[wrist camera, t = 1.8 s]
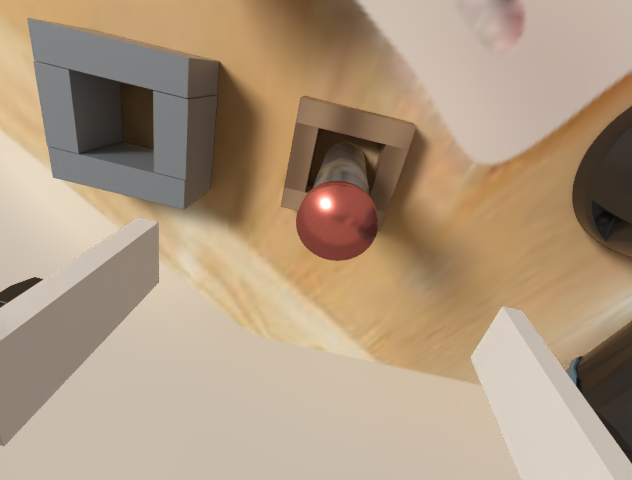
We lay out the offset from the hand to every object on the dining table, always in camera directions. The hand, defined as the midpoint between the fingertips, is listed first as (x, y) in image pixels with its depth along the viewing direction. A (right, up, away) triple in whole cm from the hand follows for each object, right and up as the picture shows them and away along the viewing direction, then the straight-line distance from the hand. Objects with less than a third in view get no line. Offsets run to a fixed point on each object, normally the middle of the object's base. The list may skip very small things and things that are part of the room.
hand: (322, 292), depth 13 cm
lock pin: (+2, +10, +19) cm, 22 cm away
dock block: (-16, +14, +19) cm, 29 cm away
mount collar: (+2, +10, +19) cm, 22 cm away
